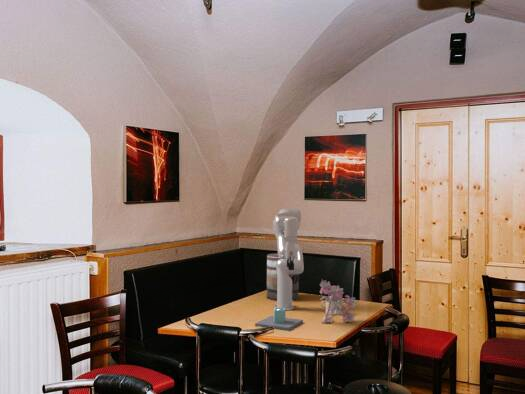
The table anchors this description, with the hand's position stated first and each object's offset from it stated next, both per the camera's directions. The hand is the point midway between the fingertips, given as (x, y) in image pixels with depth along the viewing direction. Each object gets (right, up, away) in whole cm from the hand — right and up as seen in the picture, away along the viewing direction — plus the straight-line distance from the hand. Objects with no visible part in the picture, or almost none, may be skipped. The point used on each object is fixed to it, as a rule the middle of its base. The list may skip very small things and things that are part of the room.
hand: (290, 268), depth 295 cm
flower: (+28, -30, -4) cm, 42 cm away
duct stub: (-7, -28, -11) cm, 31 cm away
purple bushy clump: (+26, -30, +18) cm, 43 cm away
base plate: (-7, -30, -11) cm, 32 cm away
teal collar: (-7, -28, -11) cm, 31 cm away
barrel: (-2, -30, +63) cm, 70 cm away
